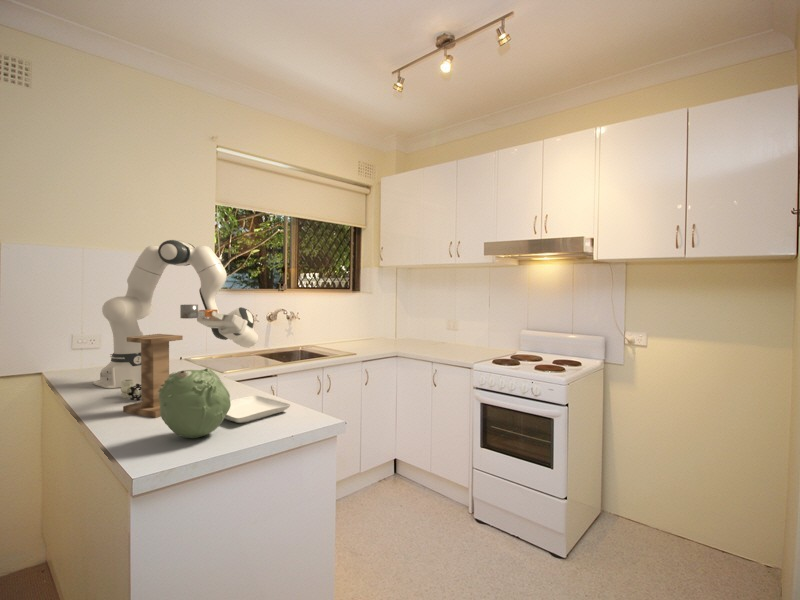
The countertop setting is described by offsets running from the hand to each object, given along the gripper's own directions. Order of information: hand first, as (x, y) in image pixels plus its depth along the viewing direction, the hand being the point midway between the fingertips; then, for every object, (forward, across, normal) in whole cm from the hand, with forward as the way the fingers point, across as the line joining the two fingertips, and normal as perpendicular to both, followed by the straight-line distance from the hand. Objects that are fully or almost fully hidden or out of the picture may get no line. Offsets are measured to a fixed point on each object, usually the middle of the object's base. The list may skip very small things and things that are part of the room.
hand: (206, 312), depth 163 cm
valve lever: (+2, 0, +3) cm, 4 cm away
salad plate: (-6, +32, +36) cm, 48 cm away
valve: (-4, -22, +37) cm, 43 cm away
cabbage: (+14, +34, +47) cm, 59 cm away
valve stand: (+3, 0, +40) cm, 40 cm away
